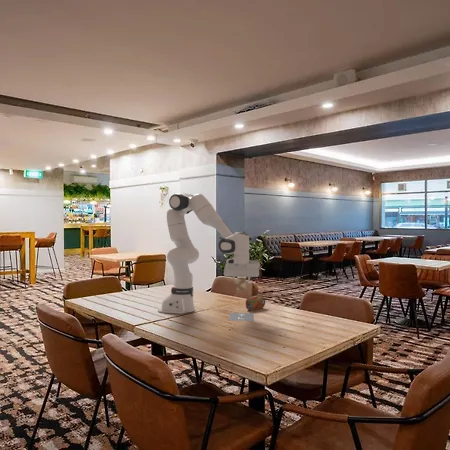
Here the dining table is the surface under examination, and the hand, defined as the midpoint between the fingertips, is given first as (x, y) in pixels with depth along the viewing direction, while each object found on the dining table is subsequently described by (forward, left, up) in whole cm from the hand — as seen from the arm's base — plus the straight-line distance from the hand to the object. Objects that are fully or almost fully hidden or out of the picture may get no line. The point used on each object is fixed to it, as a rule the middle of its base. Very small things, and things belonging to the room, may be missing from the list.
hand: (241, 284), depth 231 cm
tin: (+8, +20, -19) cm, 29 cm away
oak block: (0, 0, -2) cm, 2 cm away
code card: (0, 0, -19) cm, 19 cm away
